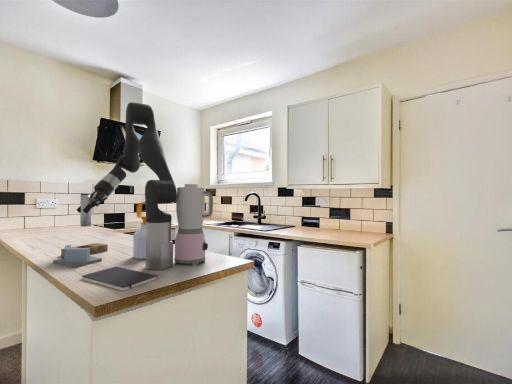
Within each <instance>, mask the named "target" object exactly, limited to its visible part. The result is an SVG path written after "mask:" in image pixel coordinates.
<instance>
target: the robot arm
mask: <svg viewBox="0 0 512 384" xmlns="http://www.w3.org/2000/svg"><path fill="white" fill-rule="evenodd" d="M134 125H142V126H146V130H145V132H144V133H143V134H142V136H141V137H139V136H138V134H137V132H136V130H135V129H134ZM157 128H158V127H157V122H156V118H155V112H154V109H153V107H152V106H151V105H150V104H147V103H141V102H140V103H139V102H131V101H130V102H129V103H128V104H127V106H126V110H125V137H124V138H125V140H124V146H123V154H122V155H120V156H119V157H118V159H117V161H116V164H115V165H114V167H113V168H112V169H111V170H110V171H109V172H108V173H107V174H106V175H104V177H102V178H101V179H100V180H99V181H98V182H97V183H96V184H95V185H94V186H93V189H94V190H93V192H91V193H90V194H89V193H86V194H85V195H91V202H90V203H89V204H88V205H87V206H86V207H85V208H84V209H83V212H85V213H88V212H89V211H90V210H91V211H92V209H93V208H95V207H99V206H100V205H101V204H102V203H104V202H105V201H106V200H107V199H108V197H110V196H111V195H112V193H114V191H115V190H116V189H117V188H118V187H119V186H120V184H121V183H122V182H123V181H124V180H125V179H126V177H127V173H126V171H127V172H129V173H132V174H133V173H136V172H137V171H139V169H140V166H141V163H140V162H141V161H140V158H141V160H142V162H143V163H144V165H146V166H147V167H148V168H149V169H151V171H152V172H153V173H154V174H155V175H156V176H157V178H158V179H149V180H147V181H146V183H145V186H144V202H145V204H144V205H145V216H146V259H145V268H146V269H148V270H161V271H162V270H164V269H167V268H170V267H171V268H172V267H173V266H174V241H173V240H172V214H171V213H170V212H169V213H168V212H165V211H163V210H161V209H160V208H159V205H165V204H166V205H167V204H173V203H175V201H176V198H177V187H176V184H175V181H174V179H173V176H172V173H171V171H170V169H169V166H168V163H167V160H166V155H165V152H164V148H163V145H162V142H161V139H160V136H159V132H158V129H157ZM139 154H140V155H139ZM76 211H77V213H79V214H81V205H79V206H78V208H76Z"/></svg>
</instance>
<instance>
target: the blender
mask: <svg viewBox="0 0 512 384" xmlns="http://www.w3.org/2000/svg"><path fill="white" fill-rule="evenodd" d="M176 191H177V197H176V200H175V201H176V205H175V206H176V207H175V209H176V210H175V211H176V219H177V224H178V226H177V227H178V229H177V233H176V235H175V239H174V257H173V262H174V264H175V265H176V264H178V263H179V264H191V265H192V267H195V266H198V265H199V263H200V262H206V251H207V250H208V248H209V245H208V243H207V242H206V236H205V233H204V231H203V230H204V229H203V224H204V219H205V218H209V217H211V216H212V215H213V211H214V210H213V209H214V208H213V207H214V197H213V194H212V193H211V192H209V191H205V187H198V184H197V183H184V187H183V186H182V187H180V186H179V187H176ZM206 197H208V212H205V210H206Z"/></svg>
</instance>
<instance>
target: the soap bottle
mask: <svg viewBox="0 0 512 384" xmlns="http://www.w3.org/2000/svg"><path fill="white" fill-rule="evenodd" d="M143 205H145V201H143V202H140V203H137V205H136V217H137V218H141V220H142V222H141V223H140V228H138V229H137V230H136V231H135V232H134V233H133V241H132V242H133V246H132V248H133V251H132V253H133V254H132V255H133V258H134V259H138V260H146V215H143V213H142V211H143V210H142V207H143Z"/></svg>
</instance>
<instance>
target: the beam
mask: <svg viewBox="0 0 512 384" xmlns="http://www.w3.org/2000/svg"><path fill="white" fill-rule="evenodd" d="M108 247H109V246H108V244H105V243H99V242H95V243H89V244H82V245H78V246H71V248H90V255H94V254H98V253H103V252H108V251H109V250H108ZM60 256H61V257H64V248H61V251H60Z"/></svg>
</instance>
